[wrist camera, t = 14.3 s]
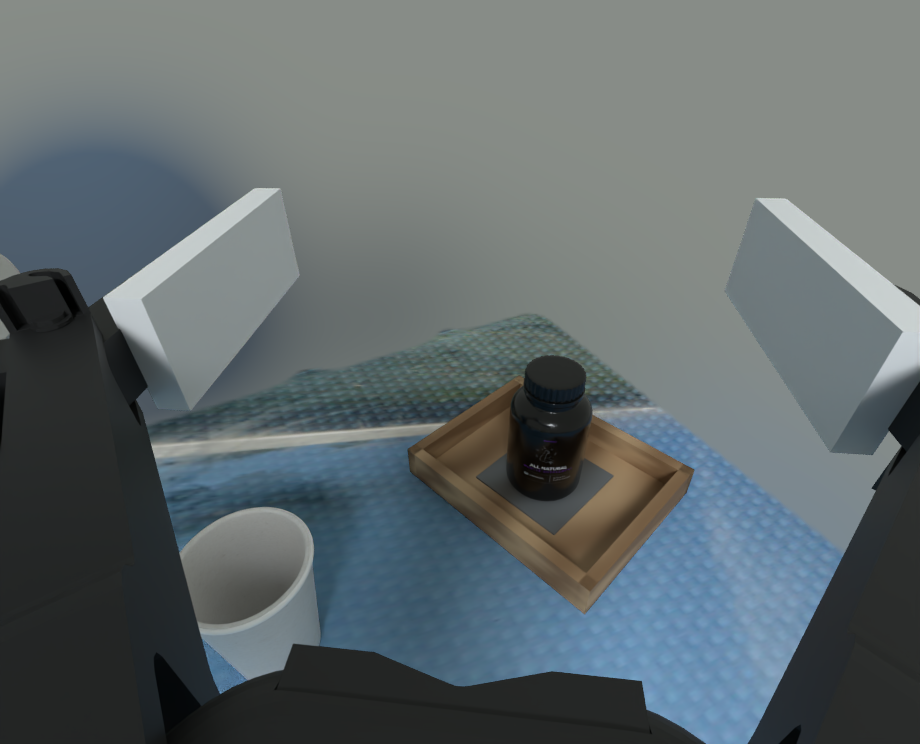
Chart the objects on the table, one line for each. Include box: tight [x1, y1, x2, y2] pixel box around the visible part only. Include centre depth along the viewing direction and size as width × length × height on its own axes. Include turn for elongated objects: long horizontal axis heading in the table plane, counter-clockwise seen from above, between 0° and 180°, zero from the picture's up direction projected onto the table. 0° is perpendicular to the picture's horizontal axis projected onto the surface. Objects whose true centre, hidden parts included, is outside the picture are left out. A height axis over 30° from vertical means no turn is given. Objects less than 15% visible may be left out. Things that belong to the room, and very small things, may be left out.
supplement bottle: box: [506, 355, 592, 502], centre depth 43 cm, size 7×7×12 cm
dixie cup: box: [179, 507, 321, 680], centre depth 33 cm, size 8×8×10 cm
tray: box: [408, 376, 694, 614], centre depth 47 cm, size 20×16×3 cm
